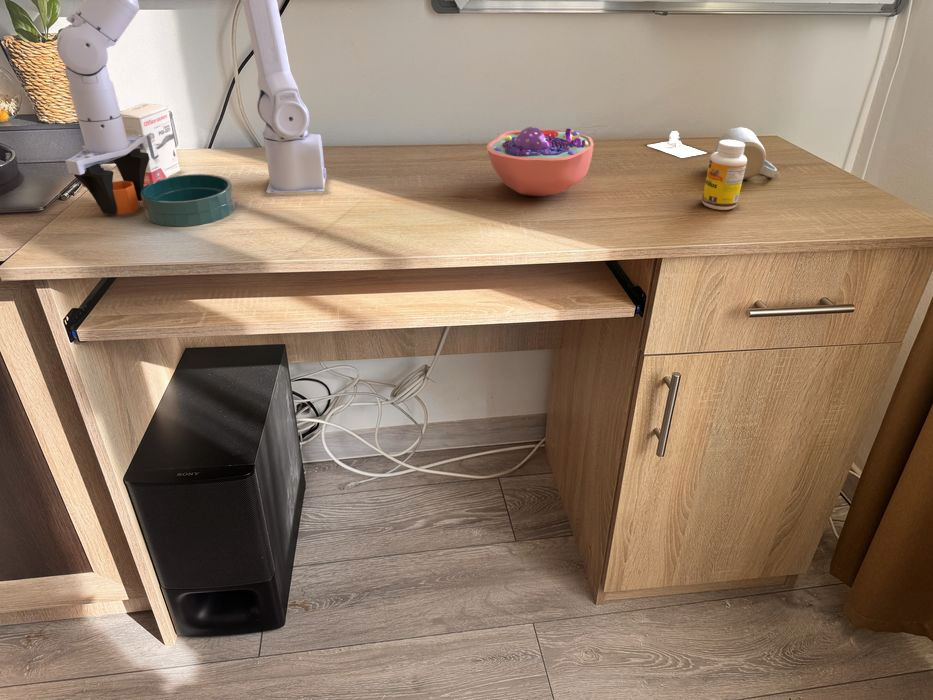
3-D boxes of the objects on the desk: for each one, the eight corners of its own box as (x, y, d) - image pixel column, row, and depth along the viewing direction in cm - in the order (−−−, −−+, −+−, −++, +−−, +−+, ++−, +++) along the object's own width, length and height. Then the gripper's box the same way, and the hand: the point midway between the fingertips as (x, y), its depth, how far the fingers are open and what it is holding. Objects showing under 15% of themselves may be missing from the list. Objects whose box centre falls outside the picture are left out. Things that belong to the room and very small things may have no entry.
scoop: (146, 208, 108) (139, 182, 105) (126, 218, 104) (119, 191, 102) (102, 202, 110) (95, 177, 108) (81, 211, 106) (73, 185, 104)
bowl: (241, 197, 112) (236, 173, 110) (228, 227, 101) (223, 200, 99) (158, 200, 111) (152, 175, 109) (137, 231, 100) (130, 204, 98)
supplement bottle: (695, 199, 114) (708, 138, 109) (728, 199, 115) (741, 137, 109) (708, 211, 110) (721, 148, 104) (741, 211, 110) (756, 147, 105)
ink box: (155, 187, 116) (138, 116, 110) (128, 185, 117) (110, 114, 110) (183, 172, 123) (168, 104, 117) (157, 170, 124) (142, 102, 118)
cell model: (612, 188, 119) (621, 122, 113) (542, 218, 106) (547, 145, 100) (536, 167, 128) (540, 105, 122) (463, 192, 116) (464, 124, 110)
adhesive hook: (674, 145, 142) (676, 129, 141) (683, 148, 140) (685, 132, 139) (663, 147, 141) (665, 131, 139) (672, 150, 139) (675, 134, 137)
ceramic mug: (721, 180, 123) (731, 137, 119) (710, 166, 130) (719, 125, 125) (781, 183, 122) (793, 140, 118) (766, 169, 129) (778, 128, 125)
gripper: (112, 103, 106) (134, 188, 113) (37, 126, 94) (67, 219, 101) (150, 107, 104) (170, 193, 111) (79, 131, 92) (106, 225, 99)
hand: (123, 206), depth 106 cm, fingers open, 5 cm apart
